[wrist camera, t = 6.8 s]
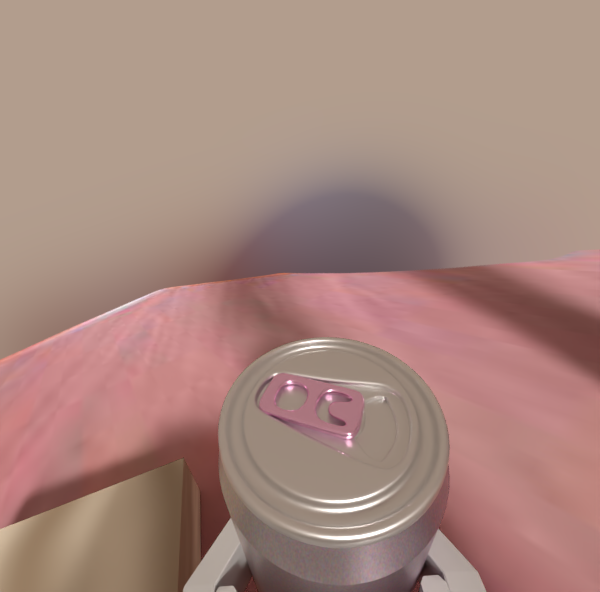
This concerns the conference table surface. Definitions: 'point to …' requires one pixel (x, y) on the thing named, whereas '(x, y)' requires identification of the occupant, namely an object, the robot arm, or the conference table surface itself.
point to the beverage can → (333, 468)
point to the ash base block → (110, 539)
